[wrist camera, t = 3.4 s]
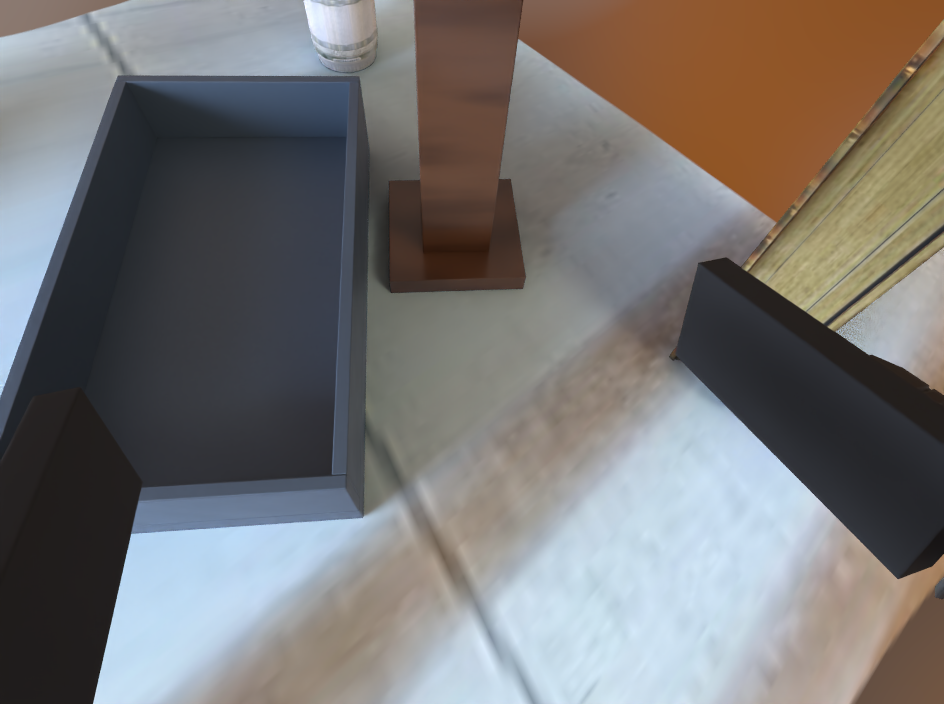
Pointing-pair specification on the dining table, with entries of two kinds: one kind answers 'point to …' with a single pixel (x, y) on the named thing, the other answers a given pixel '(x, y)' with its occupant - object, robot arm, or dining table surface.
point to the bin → (216, 298)
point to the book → (867, 203)
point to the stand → (459, 154)
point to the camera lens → (343, 33)
